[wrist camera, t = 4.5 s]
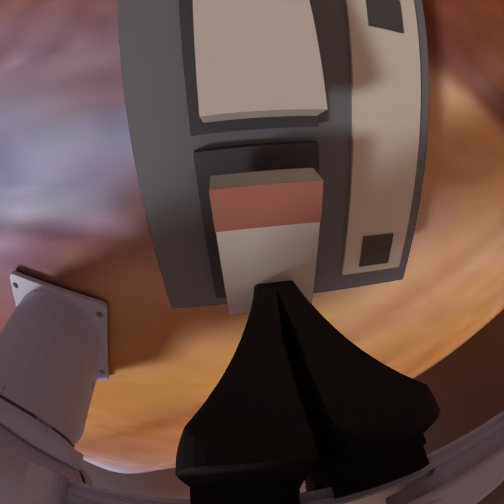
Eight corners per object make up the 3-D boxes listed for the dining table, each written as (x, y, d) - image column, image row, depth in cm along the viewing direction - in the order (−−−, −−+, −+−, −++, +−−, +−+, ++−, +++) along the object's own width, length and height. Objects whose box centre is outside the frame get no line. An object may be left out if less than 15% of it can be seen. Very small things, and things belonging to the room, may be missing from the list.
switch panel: (379, 250, 16) (407, 284, 14) (178, 272, 16) (170, 315, 13) (366, -88, 5) (393, -111, 2) (141, -91, 4) (126, -121, 1)
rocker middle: (313, 118, 8) (328, 109, 6) (204, 125, 8) (198, 116, 6) (292, -14, 6) (301, -36, 5) (195, -10, 6) (191, -34, 5)
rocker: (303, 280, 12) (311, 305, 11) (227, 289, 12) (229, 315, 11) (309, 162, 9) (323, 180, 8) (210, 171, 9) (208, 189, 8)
